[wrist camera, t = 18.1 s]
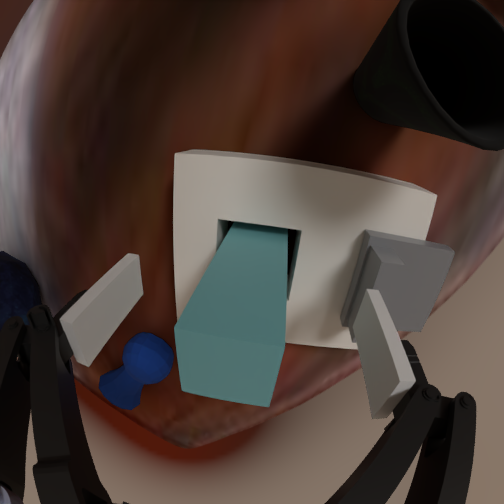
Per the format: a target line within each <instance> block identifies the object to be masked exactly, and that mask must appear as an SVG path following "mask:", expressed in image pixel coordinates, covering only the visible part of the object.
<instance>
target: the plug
mask: <svg viewBox="0 0 504 504" xmlns="http://www.w3.org/2000/svg"><path fill="white" fill-rule="evenodd" d="M287 258H288V228H282V227H275V226H268V225H260V224H253V223H245V222H238V221H234V223H233V225H232V226H231V228H230V230H229V231H228V233H227V235H226V236H225V238H224V240H223V242H222V243H221V245H220V247H219V249H218V250H217V252H216V254H215V255H214V257H213V259H212V261H211V262H210V264H209V266H208V268H207V269H206V271H205V273H204V275H203V276H202V278H201V280H200V282H199V284H198V285H197V287H196V289H195V291H194V292H193V294H192V296H191V298H190V300H189V301H188V303H187V305H186V307H185V309H184V310H183V312H182V314H181V316H180V318H179V320H178V321H177V323H176V325H175V327H174V332H175V342H176V351H177V359H178V367H179V374H180V382H181V388H182V391H185V392H189V393H193V394H197V395H202V396H206V397H211V398H216V399H221V400H227V401H232V402H238V403H244V404H251V405H258V406H265V407H269V405H270V401H271V398H272V394H273V390H274V387H275V383H276V379H277V376H278V372H279V368H280V364H281V360H282V357H283V353H284V349H285V334H286V305H287Z"/></svg>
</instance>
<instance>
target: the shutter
mask: <svg viewBox="0 0 504 504" xmlns="http://www.w3.org/2000/svg"><path fill="white" fill-rule="evenodd" d="M454 254H455V252H454V251H453V250H452V249H451V248H450V247H449V246H448V245H443V244H438V243H434V242H429V241H424V240H419V239H414V238H409V237H404V236H399V235H394V234H388V233H383V232H378V231H372V230H366V229H365V233H364V237H363V241H362V245H361V249H360V252H359V256H358V260H357V263H356V267H355V270H354V274H353V277H352V280H351V284H350V287H349V290H348V293H347V297H346V300H345V303H344V306H343V309H342V312H341V315H340V320H341V324H342V327H349V331H350V336H351V340H352V343H356V338H355V334H354V330H353V324H354V322H355V319H356V316H357V314H358V311H359V308H360V306H361V303H362V300H363V297H364V295H365V292H366V289H373V290H379V292H380V294H381V296H382V299H383V301H384V303H385V305H386V307H387V310H388V312H389V314H390V316H391V319H392V321H393V323H394V326H395V328H396V330H397V331H414V332H415V331H416V332H421V330H422V328H423V326H424V324H425V322H426V320H427V318H428V316H429V314H430V312H431V310H432V308H433V306H434V304H435V301H436V299H437V297H438V295H439V292H440V290H441V288H442V285H443V283H444V280H445V278H446V275H447V273H448V270H449V267H450V265H451V262H452V259H453V257H454Z"/></svg>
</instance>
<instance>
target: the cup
mask: <svg viewBox="0 0 504 504" xmlns="http://www.w3.org/2000/svg"><path fill="white" fill-rule="evenodd" d="M353 87H354V93H355V96H356V99H357V101H358V103H359V105H360V106H361V107H362V109H363V110H364V111H365V112H366V113H367V114H368V115H369V116H371V117H372V118H373V119H375V120H377V121H379V122H382V123H386V124H391V125H396V126H401V127H406V128H410V129H415V130H419V131H423V132H427V133H431V134H435V135H439V136H442V137H446V138H449V139H453V140H456V141H459V142H462V143H466V144H469V145H472V146H475V147H477V148H480V149H483V150H493V151H498V150H502V149H504V27H503V26H502V25H501V24H500V23H499V22H498V20H497V19H496V18H495V17H494V16H493V15H492V14H491V13H490V12H489V11H488V10H487V9H486V8H485V7H483V6H482V5H481V4H480V3H479V2H477V1H476V0H400V2H399V3H398V5H397V6H396V8H395V10H394V11H393V13H392V14H391V16H390V18H389V19H388V21H387V22H386V24H385V26H384V27H383V29H382V30H381V32H380V34H379V35H378V37H377V39H376V40H375V42H374V43H373V45H372V47H371V48H370V50H369V51H368V53H367V55H366V56H365V58H364V60H363V61H362V63H361V64H360V66H359V68H358V69H357V71H356V73H355V75H354V81H353Z"/></svg>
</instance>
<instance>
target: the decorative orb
mask: <svg viewBox="0 0 504 504" xmlns="http://www.w3.org/2000/svg"><path fill="white" fill-rule="evenodd" d="M37 305H42V303H41V298H40V292H39V287H38V284H37V283H36V281H35V279H34V278H33V276H32V274H31V273H30V271H29V269H28V268H27V266H26V264H25V263H24V262H22V261H20V260H18V259H16V258H14V257H13V256H11V255H9V254H7V253H6V252H4V251H1V252H0V331H1V329H2V327H3V325H4V323H5V322H6V320H8V319H9V318H10V317H13V316H20V317H21V318H22V319H23V321H24V324H25V325H30V323H29V321H28V318H27V316H26V315H27V313H28V311H29V310H30V309H31V308H33V307H34V306H37ZM17 357H18V356H17Z"/></svg>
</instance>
